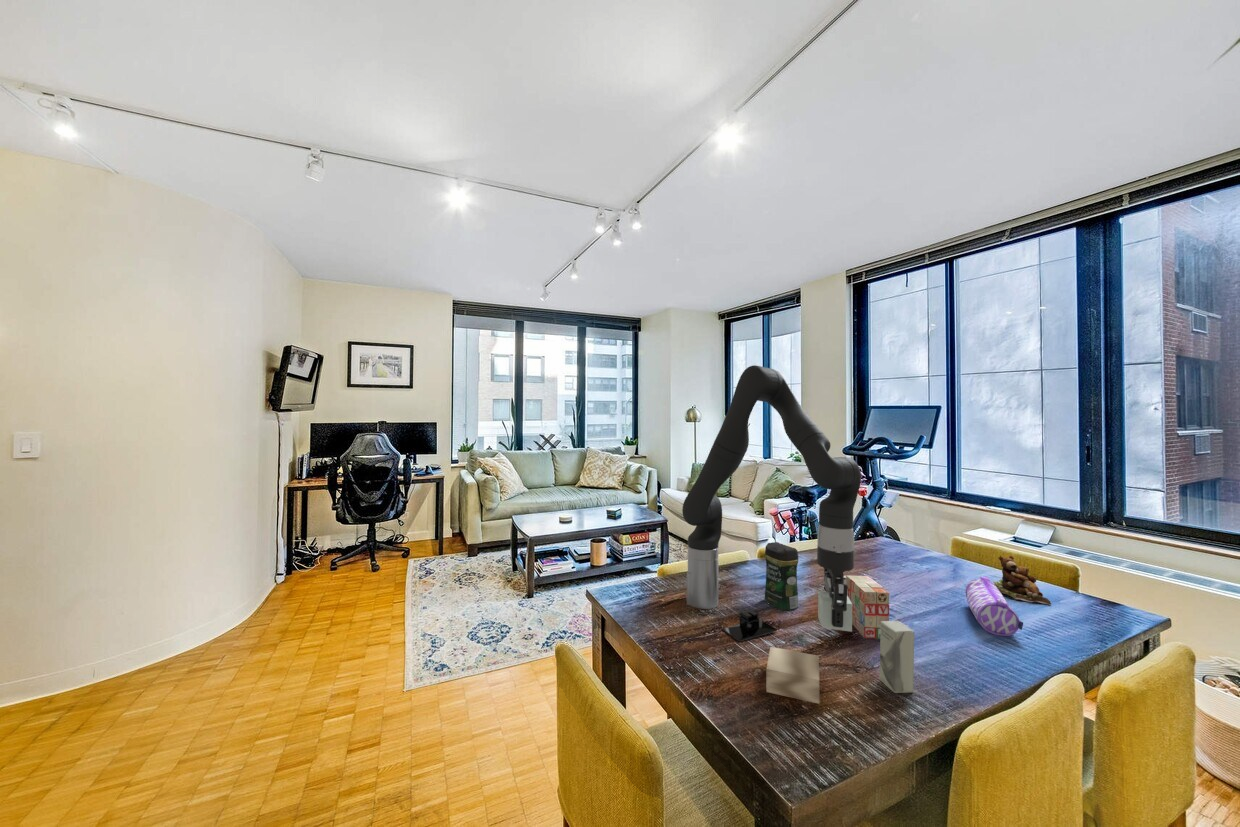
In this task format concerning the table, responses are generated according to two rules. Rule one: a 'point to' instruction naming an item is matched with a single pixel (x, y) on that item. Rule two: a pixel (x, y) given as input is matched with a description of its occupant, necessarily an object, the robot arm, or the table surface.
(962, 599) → the table surface
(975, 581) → the pencil case
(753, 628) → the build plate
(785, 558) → the coffee jar
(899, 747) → the table surface
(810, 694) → the oak block
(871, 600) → the stack of blocks
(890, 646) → the box
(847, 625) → the sage cube
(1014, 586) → the bear figurine
